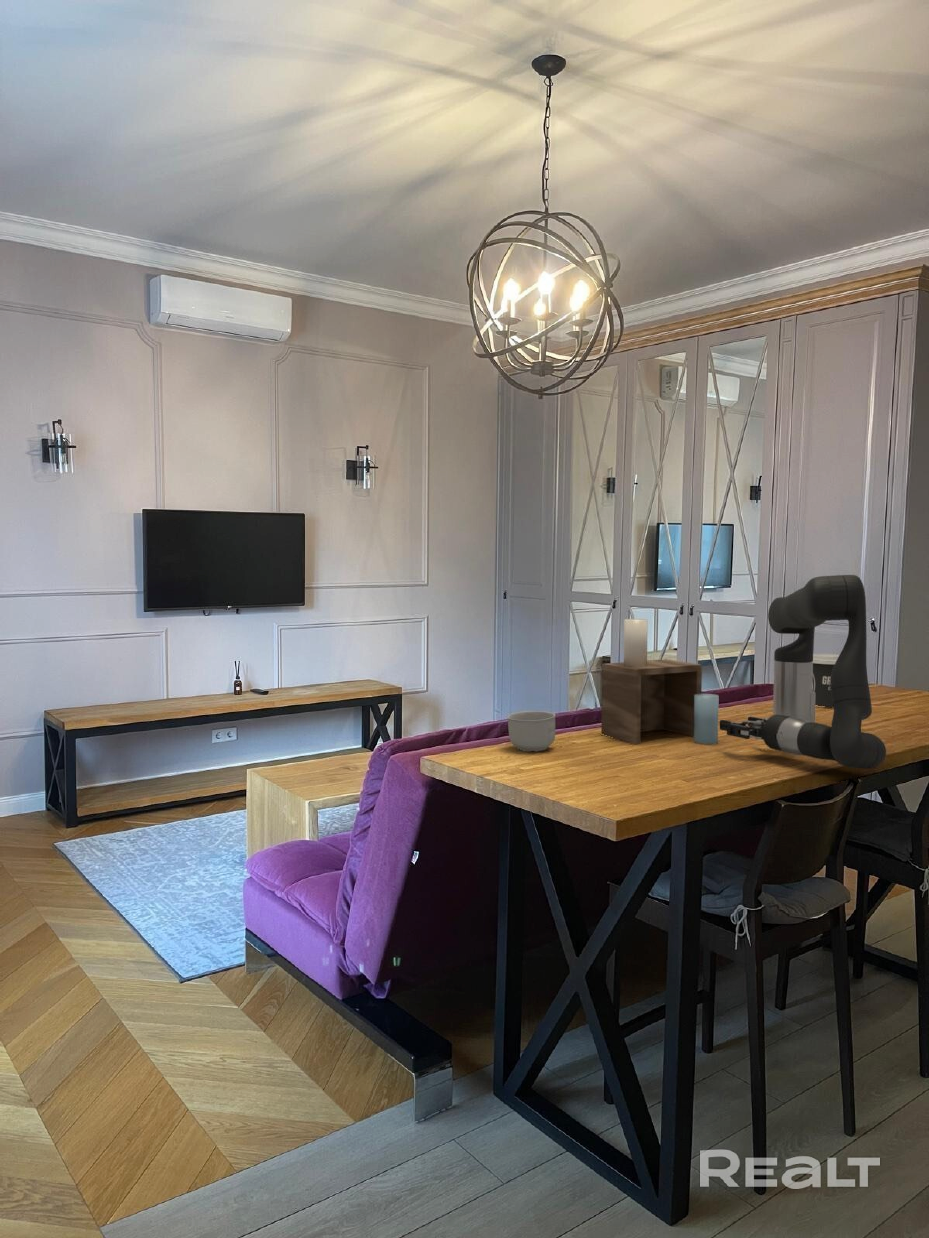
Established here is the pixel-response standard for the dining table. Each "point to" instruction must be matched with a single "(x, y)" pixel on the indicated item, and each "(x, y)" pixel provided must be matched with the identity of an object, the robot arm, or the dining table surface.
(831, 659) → the coffee cup
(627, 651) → the white pillar candle
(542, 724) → the teacup
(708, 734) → the pale blue cylinder
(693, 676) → the walnut shelf
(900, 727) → the dining table surface
